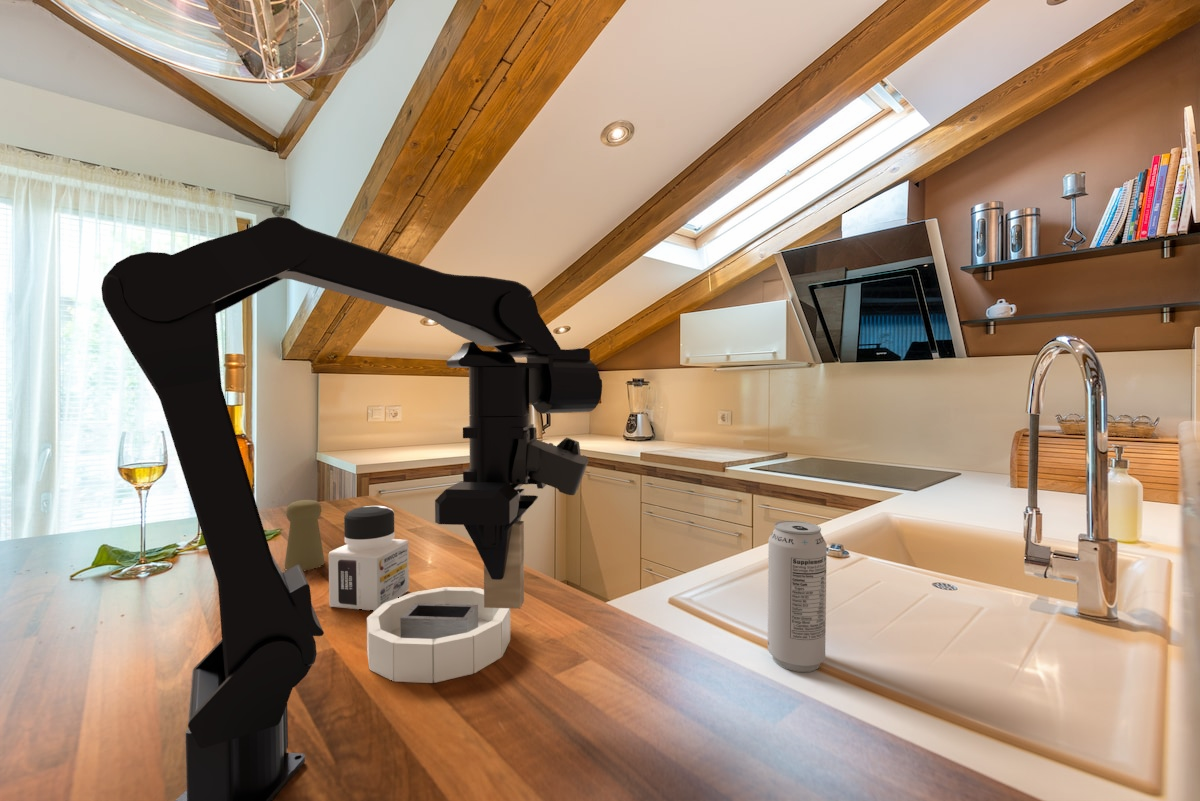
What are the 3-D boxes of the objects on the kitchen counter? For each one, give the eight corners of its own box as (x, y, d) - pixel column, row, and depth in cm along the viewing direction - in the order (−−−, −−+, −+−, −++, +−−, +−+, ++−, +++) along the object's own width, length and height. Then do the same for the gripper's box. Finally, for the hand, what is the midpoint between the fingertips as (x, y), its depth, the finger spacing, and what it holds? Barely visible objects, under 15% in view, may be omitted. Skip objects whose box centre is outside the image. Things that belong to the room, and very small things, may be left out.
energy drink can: (802, 644, 64) (804, 518, 64) (837, 670, 58) (839, 531, 58) (757, 651, 62) (758, 521, 62) (788, 678, 57) (789, 535, 56)
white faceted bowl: (487, 685, 55) (487, 646, 55) (339, 679, 56) (339, 641, 56) (520, 619, 71) (520, 588, 71) (404, 615, 72) (403, 585, 72)
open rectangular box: (469, 650, 61) (469, 621, 61) (396, 648, 61) (395, 619, 61) (481, 630, 66) (481, 603, 66) (414, 628, 66) (414, 601, 66)
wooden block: (519, 608, 52) (519, 525, 52) (484, 607, 52) (483, 525, 52) (524, 601, 54) (523, 521, 54) (489, 600, 54) (488, 520, 54)
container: (378, 612, 73) (377, 516, 73) (328, 607, 75) (326, 513, 74) (409, 591, 81) (409, 503, 80) (363, 587, 82) (362, 501, 82)
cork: (286, 562, 93) (285, 499, 93) (325, 558, 96) (324, 496, 95) (282, 574, 88) (281, 506, 87) (324, 568, 90) (323, 502, 90)
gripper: (569, 422, 43) (570, 619, 43) (591, 411, 61) (591, 548, 62) (431, 421, 44) (433, 614, 44) (494, 410, 62) (494, 546, 63)
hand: (500, 575), depth 53 cm, fingers closed on wooden block, 2 cm apart
